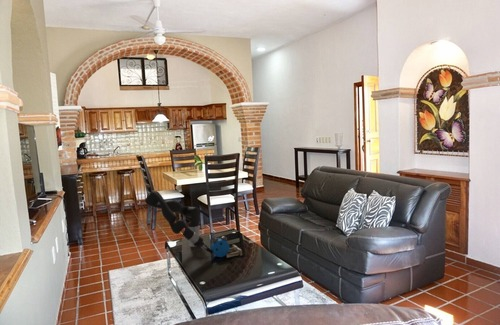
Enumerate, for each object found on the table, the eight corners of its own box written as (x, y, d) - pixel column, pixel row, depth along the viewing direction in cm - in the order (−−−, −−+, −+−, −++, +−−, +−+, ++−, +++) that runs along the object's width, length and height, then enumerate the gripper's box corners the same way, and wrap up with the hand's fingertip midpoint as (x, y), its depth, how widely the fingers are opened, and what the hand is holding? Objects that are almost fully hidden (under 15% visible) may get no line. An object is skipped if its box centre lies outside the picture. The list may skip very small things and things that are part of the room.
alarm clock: (227, 253, 280) (226, 234, 278) (230, 255, 274) (228, 236, 273) (211, 256, 275) (210, 237, 273) (214, 259, 269) (212, 239, 268)
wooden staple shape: (220, 252, 283) (220, 247, 282) (234, 249, 288) (234, 244, 287) (227, 258, 268) (227, 253, 268) (242, 255, 273) (241, 250, 273)
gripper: (189, 241, 270) (206, 254, 276) (194, 246, 258) (211, 259, 264) (196, 233, 272) (212, 246, 278) (201, 237, 260) (218, 251, 266)
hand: (212, 252), depth 271 cm, fingers closed
